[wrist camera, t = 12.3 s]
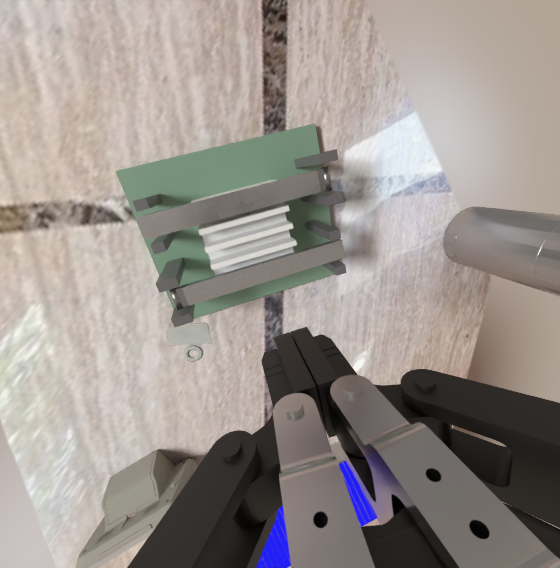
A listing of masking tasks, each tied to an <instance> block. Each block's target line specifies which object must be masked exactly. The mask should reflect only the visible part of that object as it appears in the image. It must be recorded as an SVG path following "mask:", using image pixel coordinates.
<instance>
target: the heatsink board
mask: <svg viewBox="0 0 560 568" xmlns="http://www.w3.org/2000/svg"><path fill="white" fill-rule="evenodd" d="M336 160H338V155H337V149H335V150H331V151H327V152H323V153H320V150H319V144H318V138H317V132H316V126H315V124H311V125H307V126H303V127H299V128H295V129H290V130H286V131H282V132H278V133H274V134H270V135H265V136H261V137H257V138H253V139H249V140H244V141H240V142H236V143H232V144H228V145H223V146H219V147H215V148H211V149H207V150H202V151H198V152H194V153H190V154H186V155H181V156H177V157H173V158H169V159H165V160H160V161H156V162H152V163H148V164H144V165H140V166H135V167H131V168H127V169H123V170H119V171H116V173H117V176H118V178H119V180H120V183H121V185H122V188H123V190H124V192H125V195H126V197H127V200H128V202H129V204H130V207H131V209H132V211H133V214H134V216H135V219H136V217H139V216H142V215H146V214H150V213H154V212H158V211H162V210H165V209H169V208H173V207H177V206H181V205H184V204H188V203H192V202H196V201H200V200H204V199H207V198H211V197H215V196H219V195H223V194H227V193H230V192H234V191H238V190H242V189H246V188H249V187H253V186H257V185H261V184H265V183H269V182H272V181H276V180H280V179H284V178H288V177H291V176H295V175H299V174H303V173H307V172H311V171H314V170H318V169H320V168H322V164H324V163H328V162H332V161H336ZM342 202H344V197H343V192H335V191H322V192H318V193H315V194H311V195H307V196H304V197H300V198H297V199H293V200H289V201H286V202H282V203H278V204H275V205H271V206H267V207H264V208H260V209H256V210H253V211H249V212H245V213H242V214H238V215H234V216H231V217H227V218H224V219H220V220H216V221H213V222H209V223H205V224H202V225H198V226H194V227H191V228H187V229H183V230H180V231H176V232H172V233H169V234H165V235H161V236H158V237H154V238H151V239H147V240H145V238H144V236H143V238H144V240H145V242H146V245H147V247H148V249H149V252H150V254H151V257H152V259H153V261H154V264H155V266H156V269H157V271H158V273H159V278H158V280H157V282H156V285H157V288H158V290H159V292H163V291H166V292H167V295H168V297H169V299H170V302H171V304H172V307H173V309H174V311H173V315H172V319H171V320H172V322H173V325H174V327H178V326H181V325H184V324H187V323H190V322H193V318H196V317H200V316H203V315H206V314H209V313H212V312H215V311H219V310H222V309H225V308H228V307H231V306H235V305H238V304H241V303H244V302H247V301H250V300H254V299H257V298H260V297H263V296H266V295H270V294H273V293H276V292H279V291H282V290H286V289H289V288H292V287H295V286H298V285H301V284H305V283H308V282H311V281H314V280H317V279H321V278H324V277H327V276H330V275H333V274H335V275H340V274H344V273H346V267H345V264H343V263H342V262H340V261H338V260H336V261H333V262H330V263H326V264H323V265H320V266H317V267H313V268H310V269H307V270H304V271H300V272H297V273H294V274H291V275H287V276H284V277H281V278H278V279H274V280H271V281H268V282H265V283H261V284H258V285H255V286H252V287H248V288H245V289H242V290H239V291H236V292H232V293H229V294H226V295H223V296H219V297H216V298H213V299H210V300H206V301H203V302H200V303H197V304H193V305H190V306H186V307H184V308H183V309H181V310H176V307H175V305H174V303H173V300H172V298H171V295H170V293H169V291H168V290H170V289H173V288H177V287H179V286H182V285H185V284H189V283H192V282H195V281H199V280H202V279H205V278H209V277H212V276H215V275H219V274H222V273H225V272H229V271H232V270H236V269H239V268H242V267H246V266H249V265H252V264H256V263H259V262H262V261H266V260H269V259H272V258H276V257H279V256H283V255H286V254H289V253H293V252H296V251H299V250H303V249H306V248H309V247H313V246H316V245H320V244H323V243H326V242H330V241H333V240H336V239H340V238H341V235H340V229H337V228H335V227H332V223H331V217H330V211H329V206H331V205H334V204H338V203H342ZM136 221H137V219H136ZM137 223H138V222H137ZM138 226H139V224H138ZM139 228H140V226H139ZM140 230H141V229H140ZM141 233H142V231H141ZM142 235H143V233H142Z"/></svg>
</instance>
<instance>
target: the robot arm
mask: <svg viewBox="0 0 560 568" xmlns="http://www.w3.org/2000/svg"><path fill="white" fill-rule="evenodd" d="M444 247H445V251H446V254H447V256H448V257H449V258H450V259H451V260H452V261H454V262H456V263H459V264H462V265H465V266H468V267H472V268H474V269H477V270H480V271H483V272H486V273H489V274H492V275H496V276H499V277H502V278H505V279H508V280H511V281H514V282H517V283H520V284H523V285H526V286H529V287H532V288H535V289H538V290H541V291H544V292H548V293H551V294H554V295H557V296H560V215H554V214H544V213H534V212H524V211H514V210H504V209H496V208H485V207H470V208H467V209H465V210H463V211H461V212H460V213H459V214H458V215H456V217H455V218H454V219H453V220H452V221H451V223H450V224H449V226H448V228H447V231H446V234H445V238H444ZM273 340H274V344H275V348H276V349H274V350H271V351H268V352H265V353H264V355H263V358H262V365H263V369H264V373H265V377H266V380H267V384H268V388H269V392H270V396H271V400H272V403H273V413H272V416H271V418H270V420H269V421H268V422H267V424H266V425H265V426H263V427H262V428H261V429H260V430H258V431H257V432H255V433H254V434H252V435H251V434H250V433H248V432H245V431H233V432H230V433H227V434H225V435H224V436H222V437H221V438H220V439H218V440H217V441H216V442H215V444H214V445H213V446H212V448H211V449H210V451H209V452H208V453H207V455H206V456H205V458H204V459H203V461H202V462H201V463H200V465H199V466H198V468H197V469H196V471H195V472H194V473H193V475H192V476H191V478H190V479H189V480H188V482H187V483H186V485H185V486H184V488H183V489H182V490H181V492H180V493H179V495H178V496H177V498H176V499H175V500H174V502H173V503H172V505H171V506H170V508H169V509H168V510H167V512H166V513H165V515H164V516H163V518H162V519H161V520H160V522H159V523H158V525H157V526H156V528H155V529H154V530H153V532H152V533H151V535H150V536H149V538H148V539H147V540H146V542H145V543H144V545H143V546H142V547H141V549H140V550H139V552H138V553H137V555H136V556H135V557H134V559H133V560H132V562H131V563H130V565H129V566H128V567H127V568H256V567H257V564H258V562H259V559H260V557H261V555H262V552H263V550H264V547H265V545H266V542H267V540H268V537H269V535H270V532H271V530H272V528H273V525H274V523H275V520H276V517H277V511H278V509H279V508H280V507H282V506H283V510H284V518H285V525H286V532H287V539H288V547H289V554H290V561H291V568H560V529H558V528H556V527H559V528H560V403H557V402H554V401H550V400H545V399H541V398H538V397H534V396H530V395H526V394H522V393H518V392H514V391H510V390H506V389H503V388H498V387H495V386H491V385H487V384H483V383H479V382H475V381H471V380H467V379H464V378H460V377H456V376H452V375H448V374H444V373H440V372H436V371H432V370H427V369H416V370H412V371H409V372H407V373H406V374H405V375H404V376H403V377H402V379H401V384H399V385H385V386H381V385H374V384H372V382H371V381H369V380H368V379H367V378H365V377H363V376H359V375H357V373H356V372H355V371H354V369H353V368H352V367H351V365H350V364H349V363H348V361H347V360H346V359H345V357H344V356H343V355H342V354H341V352H340V351H339V349H338V348H337V347H336V345H335V344H334V342H333V341H332V340H331V339H330V338H328V337H326V336H324V335H322V334H321V335H318V336H315V337H313V336H312V334H311V333H310V331H309V330H308V328H307V327H305V328H301V329H298V330H295V331H292V332H290V333H285V334H282V335H279V336H276V337H273ZM452 425H455V426H457V427H460V428H463V429H466V430H468V431H471V432H474V433H477V434H480V435H483V436H486V437H488V438H491V439H494V440H497V441H499V442H501V443H503V444H504V445H506V446H507V447H503V446H499V445H496V444H493V443H491V442H488V441H485V440H483V439H480V438H477V437H474V436H471V435H469V434H466V433H463V432H460V431H457V430H455V429H452ZM326 432H327V434H328V436H329V438H330V437H333V436H335V435H337V437H338V439H339V441H340V444H341V449H342V453H343V456H344V458H345V460H346V462H347V464H348V465H349V467H350V469H351V471H352V472H353V474H354V476H355V478H356V480H357V481H358V483H359V485H360V487H361V488H362V490H363V492H364V494H365V495H366V497H367V499H368V501H369V502H370V504H371V506H372V508H373V510H374V512H375V514H376V516H377V518H378V521H379V524H380V525H376V526H363V527H361V526H360V523H359V521H358V518H357V515H356V512H355V509H354V506H353V503H352V501H351V498H350V495H349V492H348V489H347V486H346V484H345V481H344V478H343V475H342V472H341V469H340V466H339V464H338V461H337V459H336V457H335V456H334V455H333V453H332V450H331V447H330V444H329V441H328V438H327V434H326ZM501 501H502V502H504V503H502V502H501ZM505 503H506V504H505ZM507 504H509V505H507ZM510 505H511V506H510ZM521 510H522V511H521ZM523 511H524V512H523ZM532 515H533V516H532ZM534 516H535V517H534ZM536 517H537V518H536ZM538 518H539V519H538ZM540 519H541V520H540ZM542 520H543V521H542ZM544 521H546V522H548V523H550V524H552V525H554V526H556V527H554V526H552V525H550V524H548V523H546V522H544Z"/></svg>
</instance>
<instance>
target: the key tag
mask: <svg viewBox="0 0 560 568" xmlns="http://www.w3.org/2000/svg"><path fill="white" fill-rule="evenodd" d="M166 336H167V340H168V344H169V346H177V345H190V346H187V347H186V348H185V349H184V351H183V356H184V358H185V359H186V360H187V361H190V362H194V361H197V360H198V359H200V358H201V356H202V350H201V348H200V347H199V346H196V345H197V344H211V338H210V333H209V328H208V325H207V324H206V323H196V324H190V325H184V326H179V327H173V328H169V329H168V330H167V331H166ZM190 350H195V351H197V356H196V357H189V356H188V352H189V351H190Z"/></svg>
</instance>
